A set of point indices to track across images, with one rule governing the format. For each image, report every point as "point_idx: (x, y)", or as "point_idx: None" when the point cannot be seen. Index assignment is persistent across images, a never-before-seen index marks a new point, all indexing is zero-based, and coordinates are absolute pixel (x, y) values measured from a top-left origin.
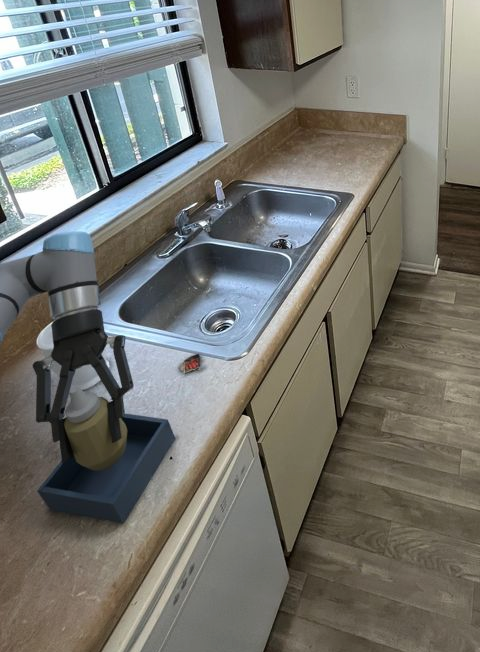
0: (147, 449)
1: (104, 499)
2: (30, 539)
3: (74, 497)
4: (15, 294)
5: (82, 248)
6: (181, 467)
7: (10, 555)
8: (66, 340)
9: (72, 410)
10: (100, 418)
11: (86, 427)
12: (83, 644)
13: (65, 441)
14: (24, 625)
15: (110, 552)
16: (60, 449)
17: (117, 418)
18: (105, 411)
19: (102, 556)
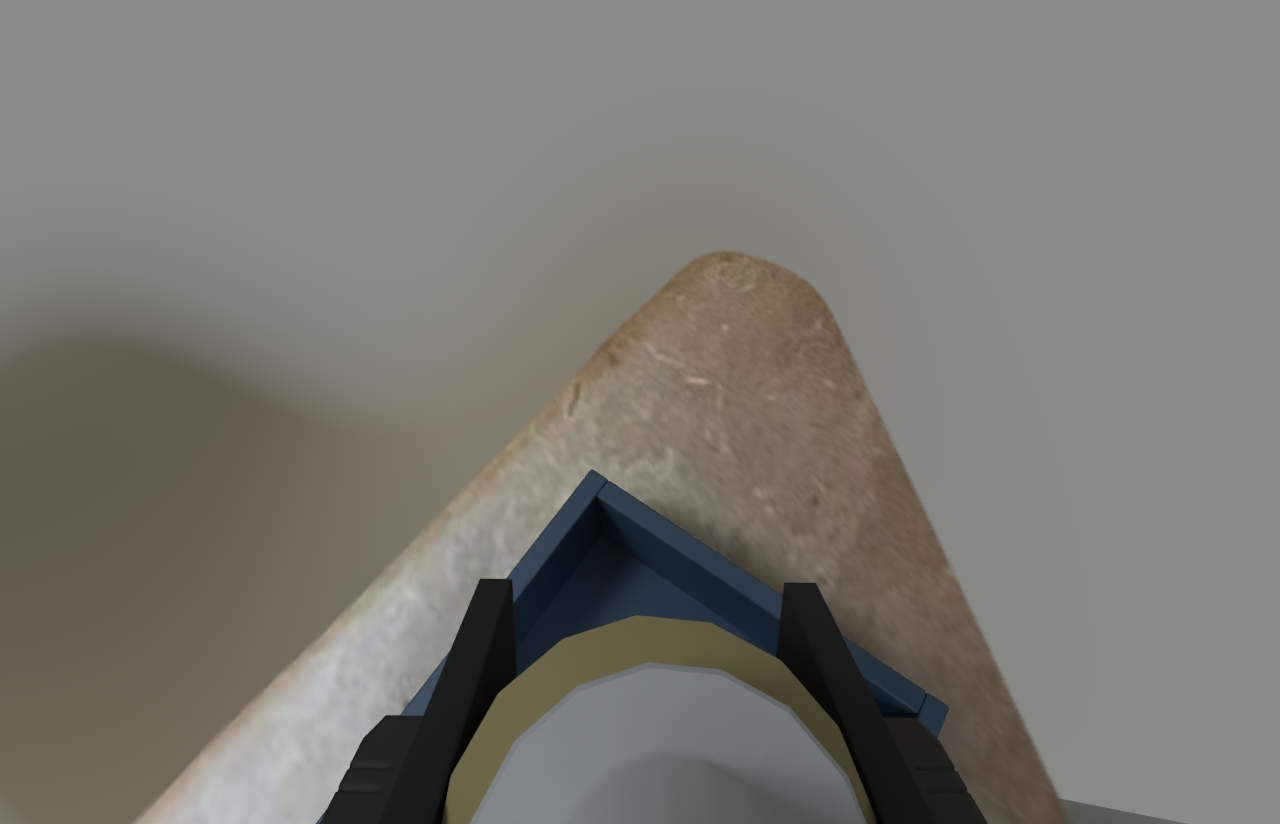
0: (434, 677)
1: (626, 505)
2: (909, 616)
3: (755, 579)
4: None
5: None
6: (380, 637)
7: (956, 589)
8: None
9: (774, 810)
10: (512, 686)
11: (630, 626)
12: (673, 281)
13: (821, 677)
14: (827, 374)
15: (632, 446)
16: (844, 642)
17: (420, 718)
18: (462, 764)
19: (654, 446)
